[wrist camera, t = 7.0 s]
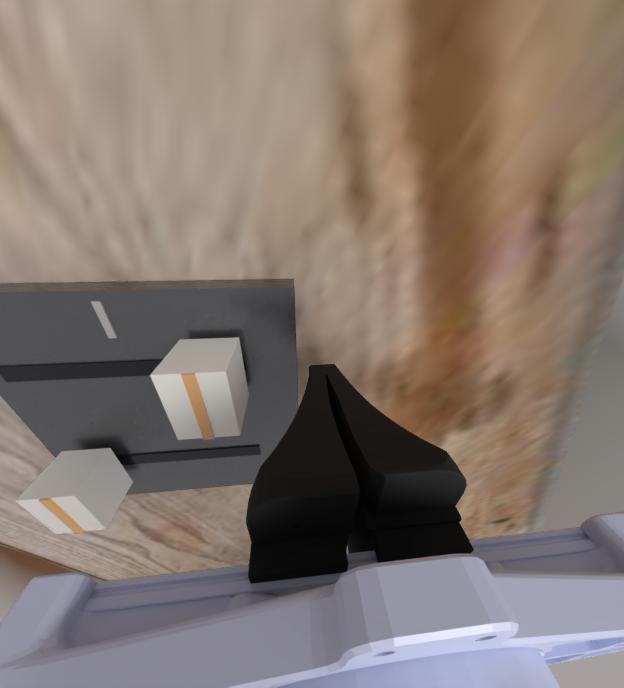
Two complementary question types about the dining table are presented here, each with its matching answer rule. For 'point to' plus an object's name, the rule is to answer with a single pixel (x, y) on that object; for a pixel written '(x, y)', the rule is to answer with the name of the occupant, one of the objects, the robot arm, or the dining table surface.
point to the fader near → (203, 388)
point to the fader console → (146, 371)
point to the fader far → (77, 491)
